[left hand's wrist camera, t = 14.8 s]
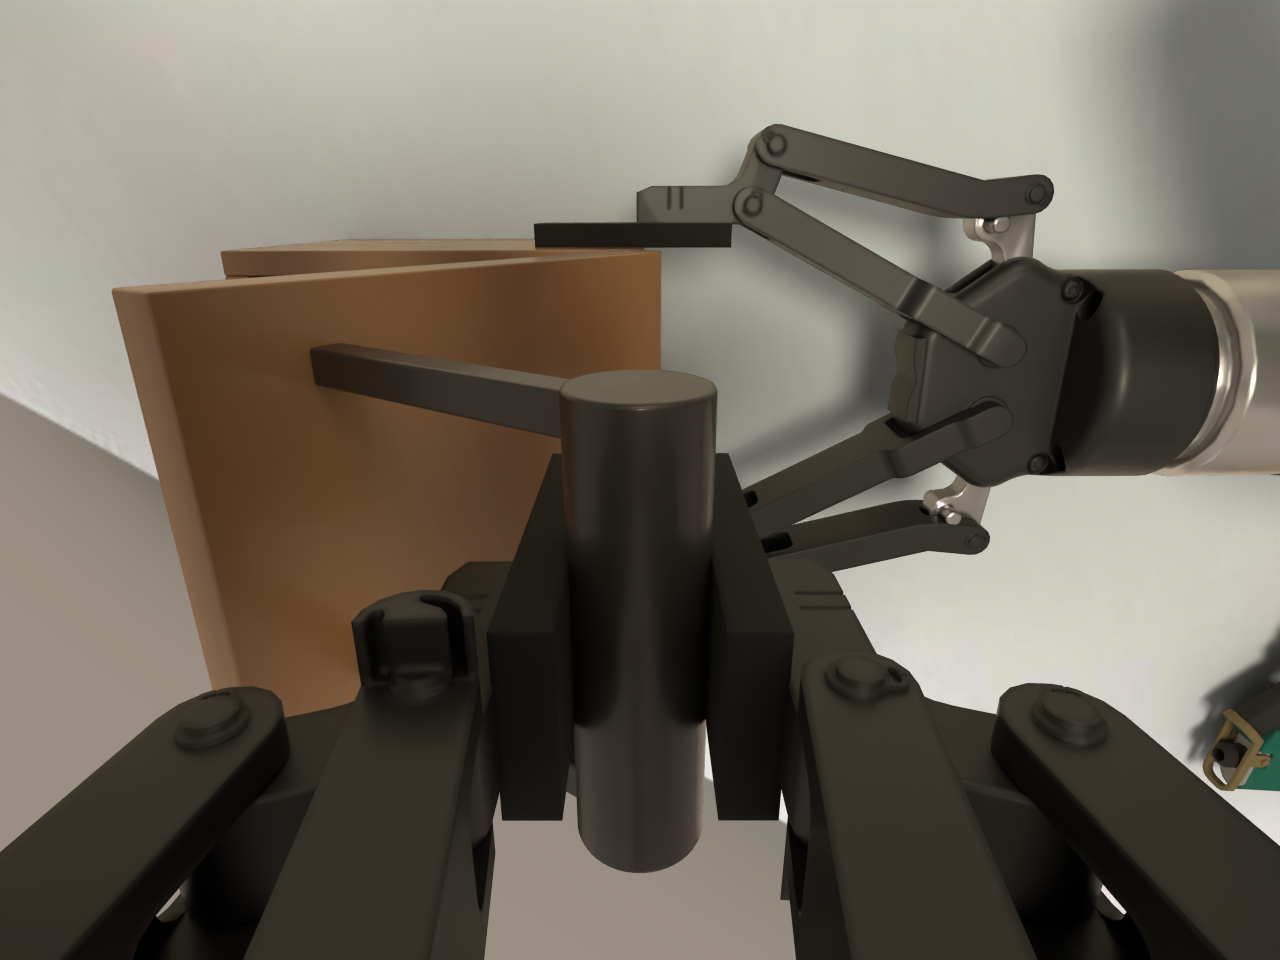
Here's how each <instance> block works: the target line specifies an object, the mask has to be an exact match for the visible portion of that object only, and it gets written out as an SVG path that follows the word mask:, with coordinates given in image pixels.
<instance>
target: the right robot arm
mask: <svg viewBox="0 0 1280 960" xmlns="http://www.w3.org/2000/svg"><path fill="white" fill-rule="evenodd" d="M781 175H783V176H787V177H791V178H794V179H798V180H802V181H805V182H809V183H813V184H816V185H820V186H824V187H827V188H831V189H835V190H839V191H842V192H846V193H850V194H853V195H857V196H861V197H864V198H868V199H872V200H875V201H879V202H883V203H887V204H890V205H894V206H898V207H901V208H905V209H909V210H912V211H916V212H920V213H923V214H927V215H932V216H937V217H943V218H963V229H964V232H965V235H966V236H967V237H968V238H969V239H971V240H974V241H979V242H983V243H985V244H986V245H987V246H988V247H989V248H990V250H991V253H992V259H991V260H989V261H987V262H986V263H984V264H983V265H981V266H980V267H978V268H977V269H976V270H974V271H973V272H971V273H970V274H968V275H967V276H965V277H964V278H962V279H961V280H959V281H958V282H956V283H955V284H953V285H952V286H951V287H949V288H948V289H946V290H945V291H943V290H941V289H939V288H937V287H936V286H934V285H932V284H930V283H928V282H926V281H923V280H921V279H919V278H917V277H915V276H913V275H912V274H910V273H908V272H907V271H905V270H903V269H901V268H900V267H898V266H896V265H894V264H893V263H891V262H889V261H888V260H886V259H884V258H882V257H881V256H879V255H877V254H875V253H874V252H872V251H870V250H869V249H867V248H865V247H863V246H862V245H860V244H858V243H856V242H855V241H853V240H851V239H850V238H848V237H846V236H844V235H843V234H841V233H839V232H837V231H836V230H834V229H832V228H831V227H829V226H827V225H825V224H824V223H822V222H820V221H818V220H817V219H815V218H813V217H812V216H810V215H808V214H806V213H805V212H803V211H801V210H799V209H798V208H796V207H794V206H793V205H791V204H789V203H787V202H786V201H784V200H782V199H780V198H779V197H777V196H775V195H774V193H775V191H776V188H777V186H778V183H779V181H780V178H781ZM1053 194H1054V187H1053V183H1052V182H1051V180H1050V179H1049V178H1048V177H1046V176H1045V175H1026V176H1016V177H1005V178H996V179H987V180H981V179H977V178H973V177H970V176H966V175H963V174H959V173H955V172H952V171H948V170H945V169H941V168H937V167H934V166H930V165H926V164H923V163H919V162H916V161H912V160H908V159H905V158H901V157H898V156H894V155H890V154H887V153H883V152H879V151H876V150H872V149H869V148H865V147H861V146H858V145H854V144H851V143H847V142H843V141H840V140H836V139H832V138H829V137H825V136H822V135H818V134H814V133H811V132H807V131H804V130H800V129H796V128H793V127H789V126H786V125H782V124H774V125H771V126H769V127H767V128H765V129H764V130H762V131H761V132H759V133H758V134H756V135H755V136H754V137H753V138H752V139H751V140H750V142H749V145H748V148H747V153H746V156H745V159H744V161H743V164H742V167H741V169H740V172H739V174H738V176H737V177H736V178H735V179H734V181H732V182H731V183H730V184H728V185H725V186H651V187H649V188H646V189H644V190H642V191H639V192H637V223H538V224H534V235H535V247H643V248H665V247H731V234H732V224H739V225H741V226H743V227H745V228H746V229H748V230H750V231H752V232H754V233H755V234H757V235H759V236H761V237H762V238H764V239H766V240H768V241H769V242H771V243H773V244H775V245H777V246H778V247H780V248H782V249H784V250H785V251H787V252H789V253H791V254H792V255H794V256H796V257H798V258H799V259H801V260H803V261H805V262H807V263H808V264H810V265H812V266H814V267H815V268H817V269H819V270H821V271H822V272H824V273H826V274H828V275H829V276H831V277H833V278H835V279H837V280H838V281H840V282H842V283H844V284H845V285H847V286H849V287H851V288H852V289H854V290H856V291H858V292H860V293H861V294H863V295H865V296H867V297H868V298H870V299H872V300H874V301H875V302H877V303H878V304H880V305H881V306H883V307H885V308H886V309H888V310H890V311H892V312H894V313H895V314H897V315H899V316H901V317H902V318H904V319H906V320H907V322H906V323H905V325H904V327H903V329H897V336H896V345H895V353H896V360H897V367H898V371H897V374H896V376H895V379H894V381H893V384H892V387H891V389H890V395H889V403H888V410H890V411H891V412H892V413H890V414H888V415H885V416H883V417H881V418H879V419H877V420H875V421H873V422H871V423H870V424H868V425H867V426H866V427H865V428H864V430H863V431H862V432H861V433H859V434H857V435H855V436H853V437H851V438H849V439H847V440H845V441H842V442H840V443H838V444H836V445H834V446H832V447H830V448H828V449H826V450H824V451H822V452H820V453H818V454H816V455H813V456H811V457H809V458H807V459H805V460H803V461H801V462H799V463H797V464H795V465H793V466H791V467H789V468H786V469H784V470H782V471H780V472H778V473H776V474H774V475H772V476H770V477H768V478H766V479H764V480H762V481H759V482H757V483H755V484H753V485H751V486H749V487H747V488H745V489H743V490H742V492H743V495H744V497H745V500H746V503H747V506H748V508H749V511H750V514H751V516H752V519H753V522H754V525H755V527H756V530H757V533H758V535H759V538H760V541H761V544H762V546H763V549H764V552H765V554H766V557H767V559H813V560H815V561H816V562H818V563H819V564H820V565H822V566H823V567H825V568H826V569H827V570H829V571H830V572H834V571H839V570H843V569H848V568H852V567H857V566H861V565H866V564H870V563H875V562H880V561H884V560H889V559H893V558H898V557H902V556H907V555H911V554H916V553H920V552H925V551H936V552H946V553H957V554H968V555H973V554H978V553H980V552H982V551H983V550H984V549H986V548H987V546H988V544H989V542H990V536H989V533H988V531H987V530H985V529H984V528H983V527H982V526H981V525H980V523H981V519H982V515H983V512H984V509H985V505H986V502H987V498H988V495H989V491H990V488H991V487H993V486H997V485H1000V484H1002V483H1004V482H1006V481H1008V480H1010V479H1013V478H1015V477H1019V476H1023V475H1045V476H1138V475H1146V474H1150V473H1153V474H1158V475H1164V476H1210V475H1266V474H1269V475H1280V270H1257V269H1195V270H1179V271H1176V272H1173V273H1172V272H1170V271H1165V270H1054V269H1052V268H1049V267H1047V266H1046V265H1044V264H1043V263H1041V262H1040V261H1038V260H1036V259H1034V258H1032V257H1033V244H1034V231H1035V218H1036V213H1038V212H1041V211H1043V210H1044V209H1045V208H1046V207H1048V205H1049V204H1050V202H1051V201H1052V198H1053ZM940 462H941V463H942V464H943V465H945V466H946V467H947V468H949V469H950V470H951V471H953V472H954V473H955V474H956V475H957V476H956V479H955V481H954V482H953V483H952V484H951V485H950V486H948V487H946V488H944V489H937V490H929V491H927V492H926V493H925V495H924V500H904V501H897V502H892V503H887V504H883V505H878V506H874V507H870V508H865V509H861V510H856V511H852V512H848V513H843V514H839V515H834V516H830V517H826V518H821V519H817V520H812V521H808V522H804V523H799V524H795V523H797V522H799V521H801V520H803V519H805V518H807V517H810V516H812V515H814V514H816V513H818V512H820V511H822V510H825V509H827V508H829V507H831V506H833V505H835V504H837V503H840V502H842V501H844V500H846V499H848V498H850V497H852V496H855V495H857V494H859V493H861V492H863V491H865V490H867V489H870V488H872V487H874V486H876V485H878V484H880V483H882V482H884V481H887V480H889V479H891V478H905V477H909V476H912V475H914V474H916V473H918V472H921V471H923V470H925V469H927V468H929V467H931V466H933V465H936V464H938V463H940ZM792 524H795V525H792Z"/></svg>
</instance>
